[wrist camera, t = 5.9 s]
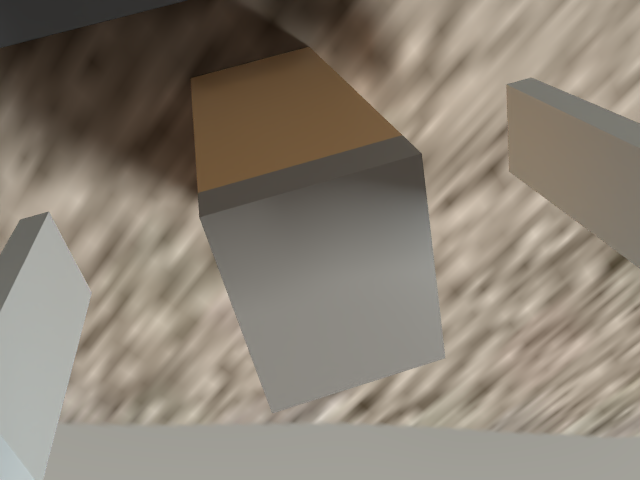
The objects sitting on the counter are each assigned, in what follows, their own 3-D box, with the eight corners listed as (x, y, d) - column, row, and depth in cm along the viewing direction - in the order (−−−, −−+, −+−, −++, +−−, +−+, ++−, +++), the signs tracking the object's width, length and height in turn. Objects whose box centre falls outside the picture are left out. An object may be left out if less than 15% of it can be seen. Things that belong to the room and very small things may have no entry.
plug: (234, 210, 20) (272, 413, 12) (190, 77, 18) (199, 217, 9) (337, 181, 21) (445, 357, 12) (309, 46, 18) (421, 153, 10)
